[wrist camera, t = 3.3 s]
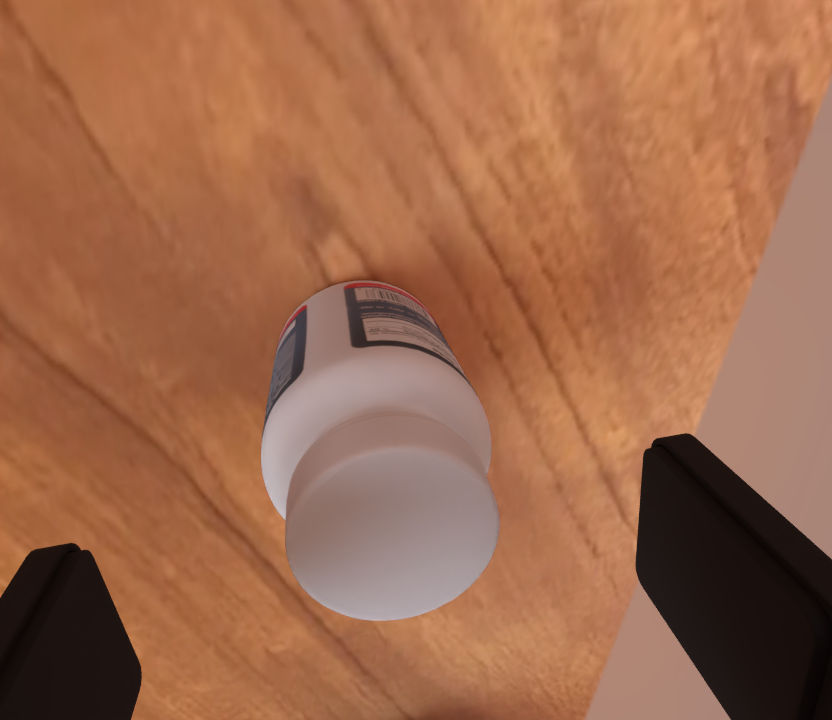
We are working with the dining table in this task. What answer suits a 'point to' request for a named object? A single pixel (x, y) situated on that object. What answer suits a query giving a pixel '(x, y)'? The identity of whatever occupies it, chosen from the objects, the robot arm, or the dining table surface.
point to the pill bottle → (377, 455)
